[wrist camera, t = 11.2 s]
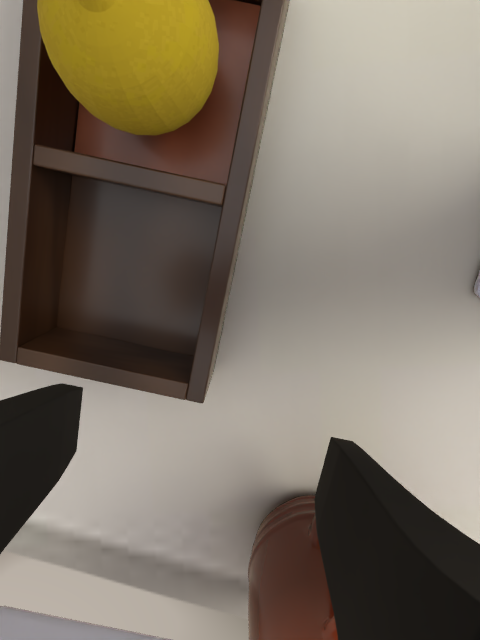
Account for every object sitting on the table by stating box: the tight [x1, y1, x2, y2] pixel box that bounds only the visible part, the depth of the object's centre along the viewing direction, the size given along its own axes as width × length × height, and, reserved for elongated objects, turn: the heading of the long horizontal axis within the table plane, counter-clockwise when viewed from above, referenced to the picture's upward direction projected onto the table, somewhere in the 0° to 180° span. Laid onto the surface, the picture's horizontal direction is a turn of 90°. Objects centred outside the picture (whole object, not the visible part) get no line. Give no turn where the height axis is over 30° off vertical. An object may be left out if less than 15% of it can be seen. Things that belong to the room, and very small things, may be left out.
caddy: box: [0, 0, 290, 403], centre depth 18 cm, size 9×17×4 cm, turn 168°
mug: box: [248, 495, 338, 640], centre depth 18 cm, size 12×9×10 cm
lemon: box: [37, 0, 219, 135], centre depth 14 cm, size 6×6×8 cm
